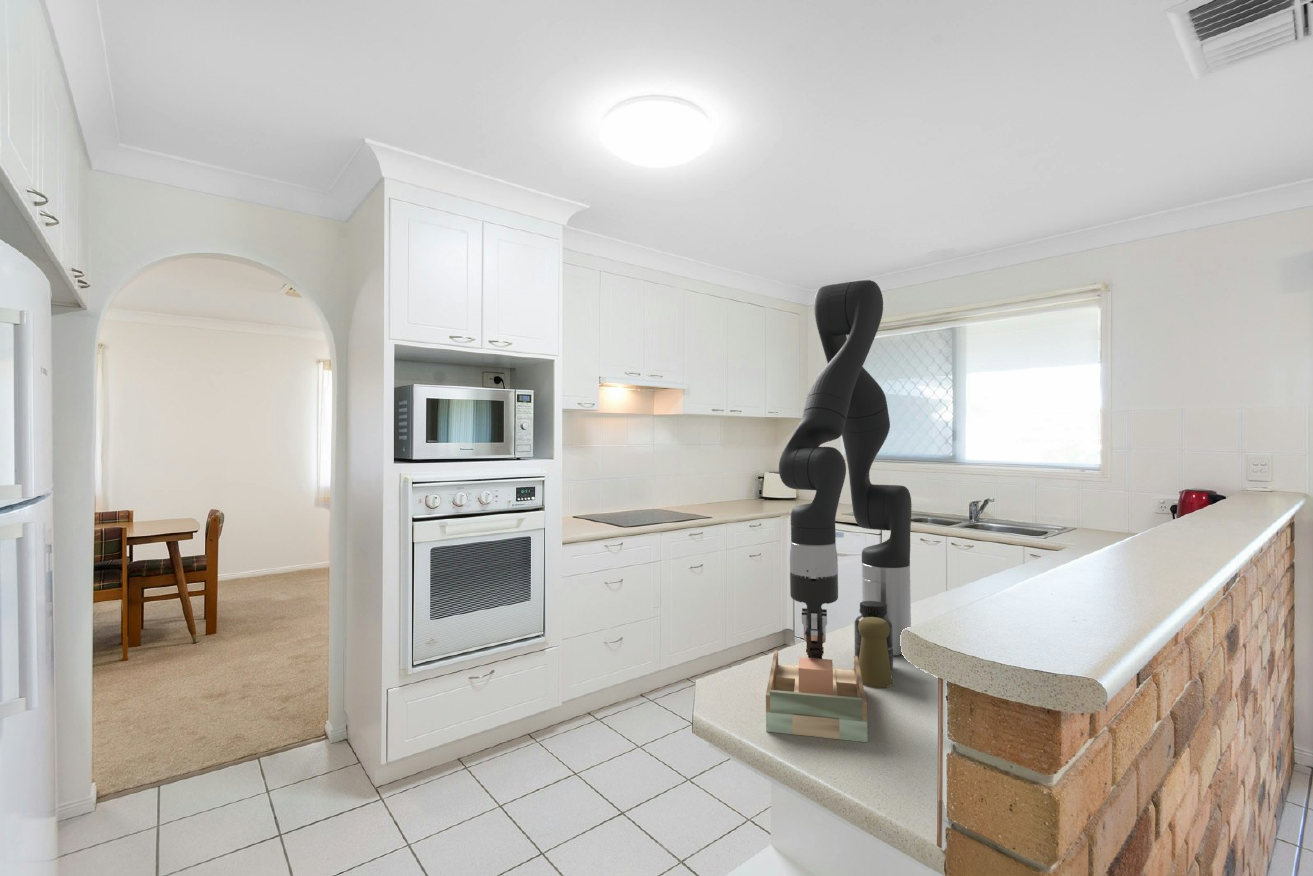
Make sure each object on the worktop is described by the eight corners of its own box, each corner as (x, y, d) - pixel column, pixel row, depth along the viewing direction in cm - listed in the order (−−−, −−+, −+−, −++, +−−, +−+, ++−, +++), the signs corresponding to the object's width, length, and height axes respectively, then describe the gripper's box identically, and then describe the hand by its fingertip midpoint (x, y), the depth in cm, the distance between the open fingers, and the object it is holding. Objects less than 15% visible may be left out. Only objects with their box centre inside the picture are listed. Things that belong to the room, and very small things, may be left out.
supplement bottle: (899, 675, 111) (898, 608, 111) (861, 675, 111) (860, 608, 111) (886, 661, 118) (885, 598, 118) (850, 661, 118) (849, 599, 118)
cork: (887, 675, 111) (886, 614, 111) (897, 688, 105) (896, 623, 105) (853, 674, 111) (852, 613, 112) (860, 687, 105) (859, 623, 106)
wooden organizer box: (774, 680, 109) (774, 647, 109) (857, 687, 106) (857, 653, 106) (766, 731, 90) (765, 691, 90) (867, 742, 86) (866, 700, 86)
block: (799, 688, 98) (799, 657, 98) (832, 691, 96) (832, 659, 96) (798, 701, 93) (798, 668, 93) (833, 704, 91) (832, 671, 92)
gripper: (791, 561, 107) (793, 660, 107) (788, 578, 94) (789, 691, 94) (836, 562, 105) (838, 664, 105) (839, 580, 92) (841, 695, 92)
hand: (815, 676), depth 100 cm, fingers closed
